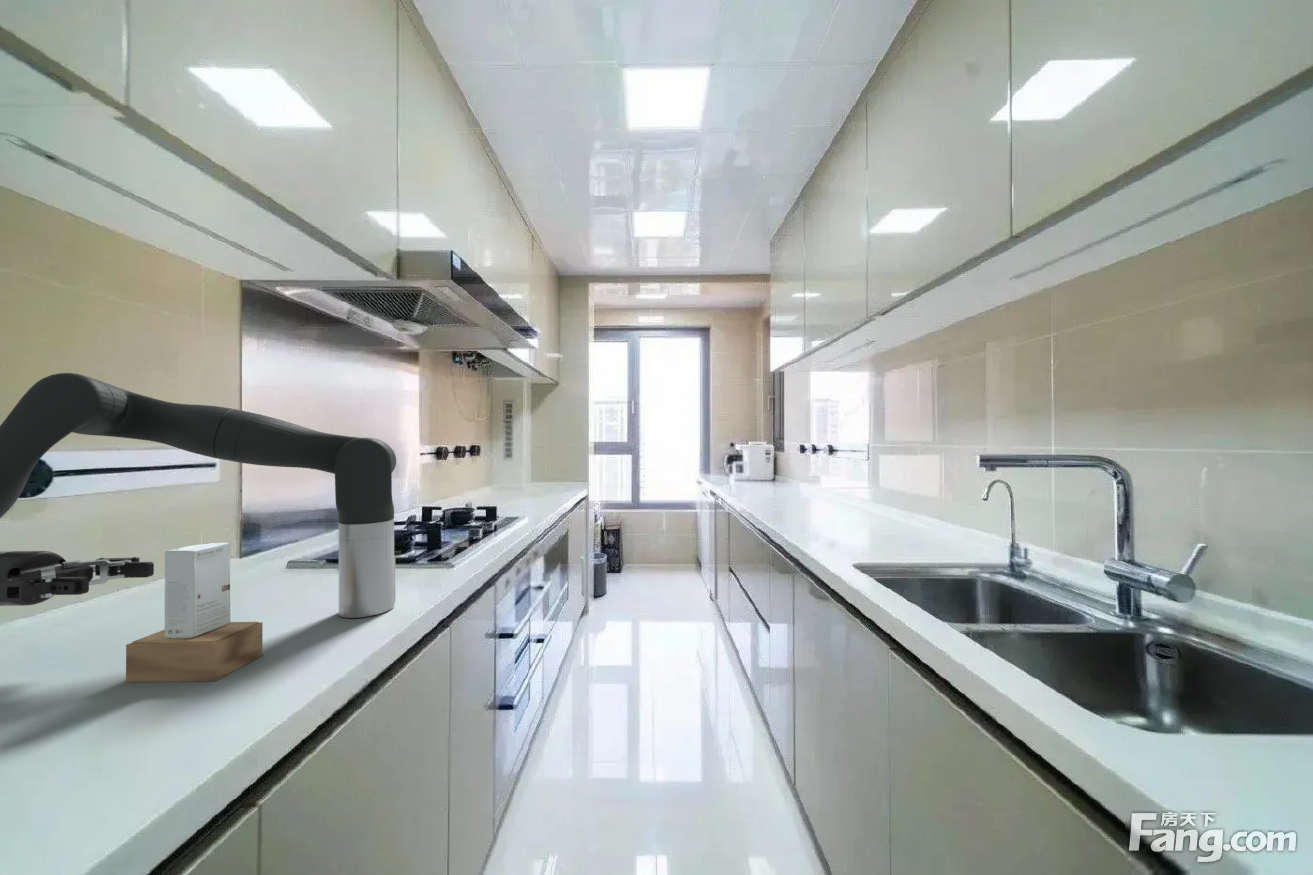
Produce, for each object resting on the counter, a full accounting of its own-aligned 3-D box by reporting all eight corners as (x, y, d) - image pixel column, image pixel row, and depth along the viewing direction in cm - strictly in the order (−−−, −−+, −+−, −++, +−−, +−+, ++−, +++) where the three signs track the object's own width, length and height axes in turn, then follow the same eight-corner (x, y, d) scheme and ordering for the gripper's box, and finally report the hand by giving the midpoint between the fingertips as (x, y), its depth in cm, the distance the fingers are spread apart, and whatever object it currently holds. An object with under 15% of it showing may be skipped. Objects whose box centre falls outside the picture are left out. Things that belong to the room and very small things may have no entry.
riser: (183, 656, 74) (183, 621, 74) (262, 655, 74) (262, 620, 74) (126, 682, 66) (126, 642, 66) (214, 681, 66) (214, 642, 66)
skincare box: (194, 638, 67) (194, 550, 67) (161, 639, 67) (162, 551, 67) (232, 622, 73) (233, 541, 74) (203, 622, 73) (203, 542, 74)
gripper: (-67, 563, 63) (61, 562, 63) (66, 541, 77) (170, 541, 77) (-68, 622, 63) (60, 621, 63) (66, 589, 77) (170, 588, 77)
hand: (120, 577), depth 70 cm, fingers open, 8 cm apart
